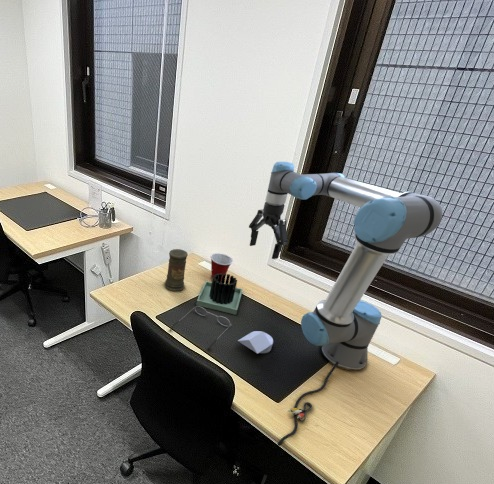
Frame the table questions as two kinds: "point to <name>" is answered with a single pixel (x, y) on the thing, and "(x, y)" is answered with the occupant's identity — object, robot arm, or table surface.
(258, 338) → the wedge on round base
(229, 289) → the pen pot
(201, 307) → the eyeglasses
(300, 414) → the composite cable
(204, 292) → the desk tray
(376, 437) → the table surface
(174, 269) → the container
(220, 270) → the plastic cup
